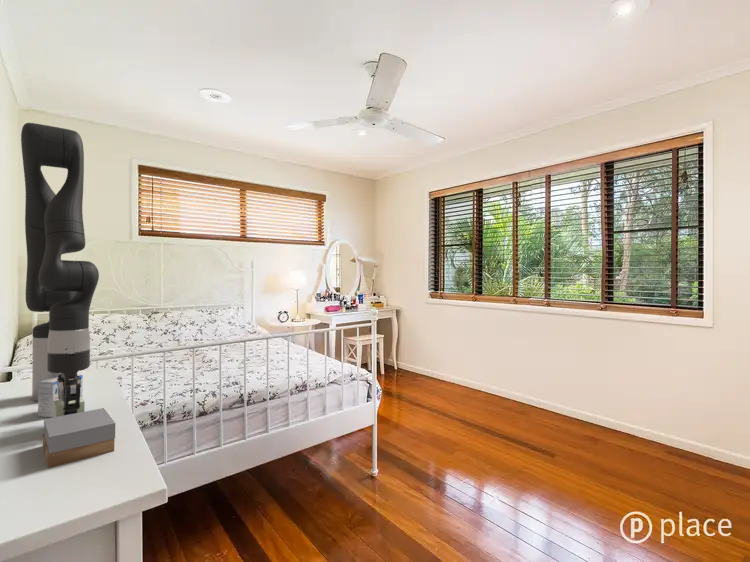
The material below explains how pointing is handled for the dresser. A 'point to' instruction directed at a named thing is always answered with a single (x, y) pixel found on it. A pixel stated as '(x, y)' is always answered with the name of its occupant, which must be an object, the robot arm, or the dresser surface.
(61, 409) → the block
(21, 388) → the dresser surface
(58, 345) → the robot arm
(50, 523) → the dresser surface
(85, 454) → the tower bottom
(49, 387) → the medicine box
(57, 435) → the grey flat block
